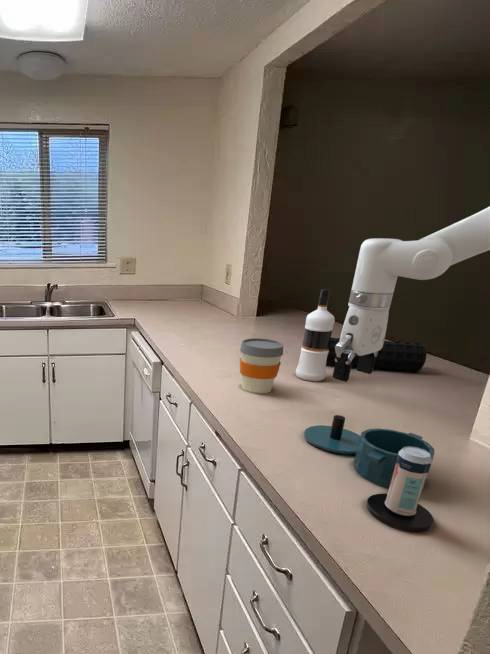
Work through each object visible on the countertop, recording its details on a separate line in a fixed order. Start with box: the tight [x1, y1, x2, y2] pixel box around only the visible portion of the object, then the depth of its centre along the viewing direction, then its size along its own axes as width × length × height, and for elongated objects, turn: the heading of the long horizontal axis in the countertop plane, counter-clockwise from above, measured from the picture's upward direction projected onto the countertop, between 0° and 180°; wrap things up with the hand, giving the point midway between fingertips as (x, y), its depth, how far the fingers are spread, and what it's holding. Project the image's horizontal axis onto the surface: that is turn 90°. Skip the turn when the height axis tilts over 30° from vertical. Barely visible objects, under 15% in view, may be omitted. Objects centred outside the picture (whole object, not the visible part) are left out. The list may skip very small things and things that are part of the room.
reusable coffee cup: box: [239, 337, 284, 394], centre depth 137 cm, size 12×13×15 cm
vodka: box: [295, 288, 336, 382], centre depth 144 cm, size 9×9×30 cm
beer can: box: [385, 446, 433, 516], centre depth 77 cm, size 5×5×12 cm
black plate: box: [366, 493, 435, 533], centre depth 79 cm, size 10×10×1 cm
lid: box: [303, 414, 361, 455], centre depth 104 cm, size 14×14×7 cm
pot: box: [353, 428, 435, 489], centre depth 91 cm, size 13×18×8 cm
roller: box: [326, 337, 427, 373], centre depth 158 cm, size 38×10×10 cm, turn 71°
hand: (352, 375), depth 97 cm, fingers open, 9 cm apart
